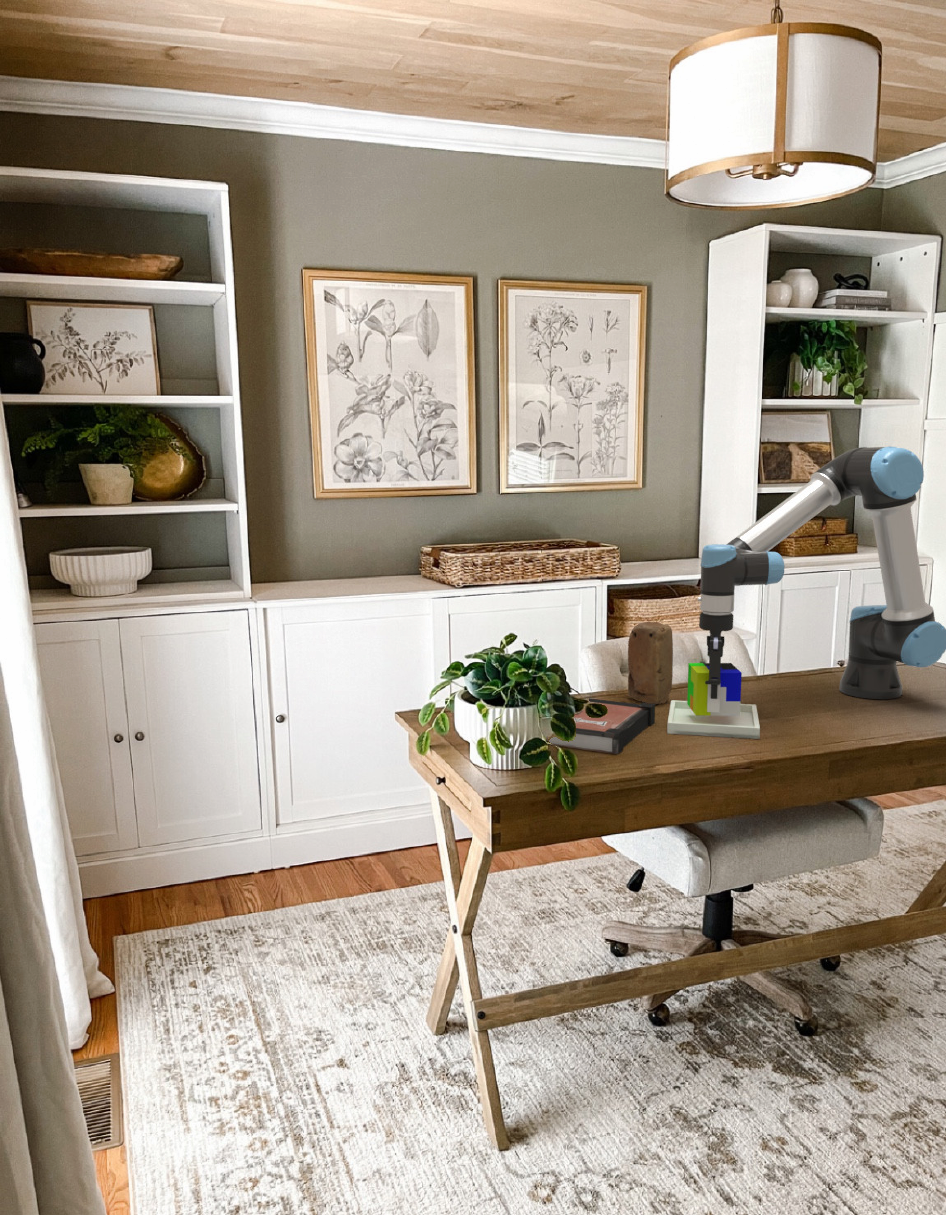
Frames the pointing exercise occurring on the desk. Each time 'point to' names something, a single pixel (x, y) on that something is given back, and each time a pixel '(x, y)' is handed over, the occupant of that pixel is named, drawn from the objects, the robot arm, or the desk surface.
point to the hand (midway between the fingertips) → (713, 705)
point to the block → (650, 662)
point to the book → (610, 727)
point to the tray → (713, 722)
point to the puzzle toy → (728, 689)
